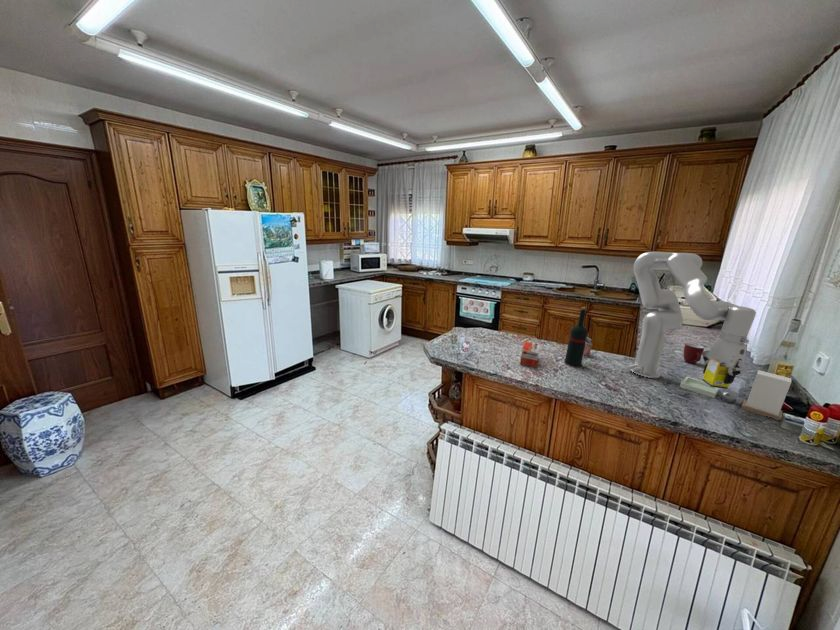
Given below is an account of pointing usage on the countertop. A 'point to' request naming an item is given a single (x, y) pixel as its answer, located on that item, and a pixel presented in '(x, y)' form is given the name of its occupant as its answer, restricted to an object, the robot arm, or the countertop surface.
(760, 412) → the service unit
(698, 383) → the parts tray
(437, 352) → the countertop surface
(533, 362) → the medicine box
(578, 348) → the wine bottle
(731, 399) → the steel bushing
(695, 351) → the mug
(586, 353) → the lighter
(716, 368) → the supplement box
